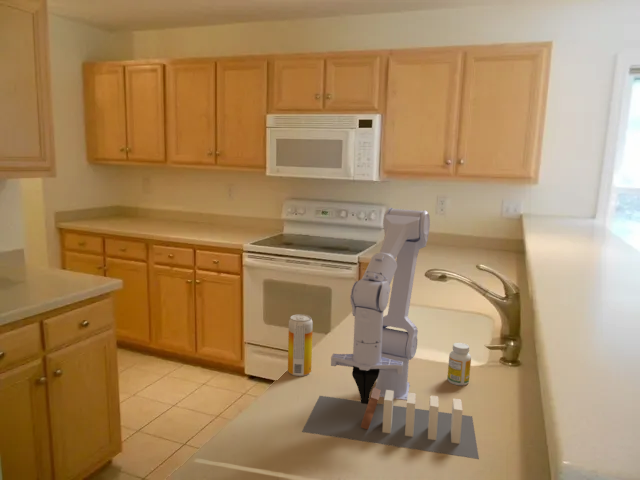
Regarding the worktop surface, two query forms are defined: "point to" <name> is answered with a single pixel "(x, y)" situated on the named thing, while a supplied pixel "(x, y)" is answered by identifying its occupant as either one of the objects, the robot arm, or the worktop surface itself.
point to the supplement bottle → (459, 364)
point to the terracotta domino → (370, 408)
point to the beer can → (300, 345)
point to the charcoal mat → (348, 415)
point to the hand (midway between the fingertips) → (364, 401)
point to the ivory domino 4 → (456, 421)
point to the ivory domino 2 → (410, 414)
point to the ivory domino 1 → (388, 411)
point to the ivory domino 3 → (433, 417)
